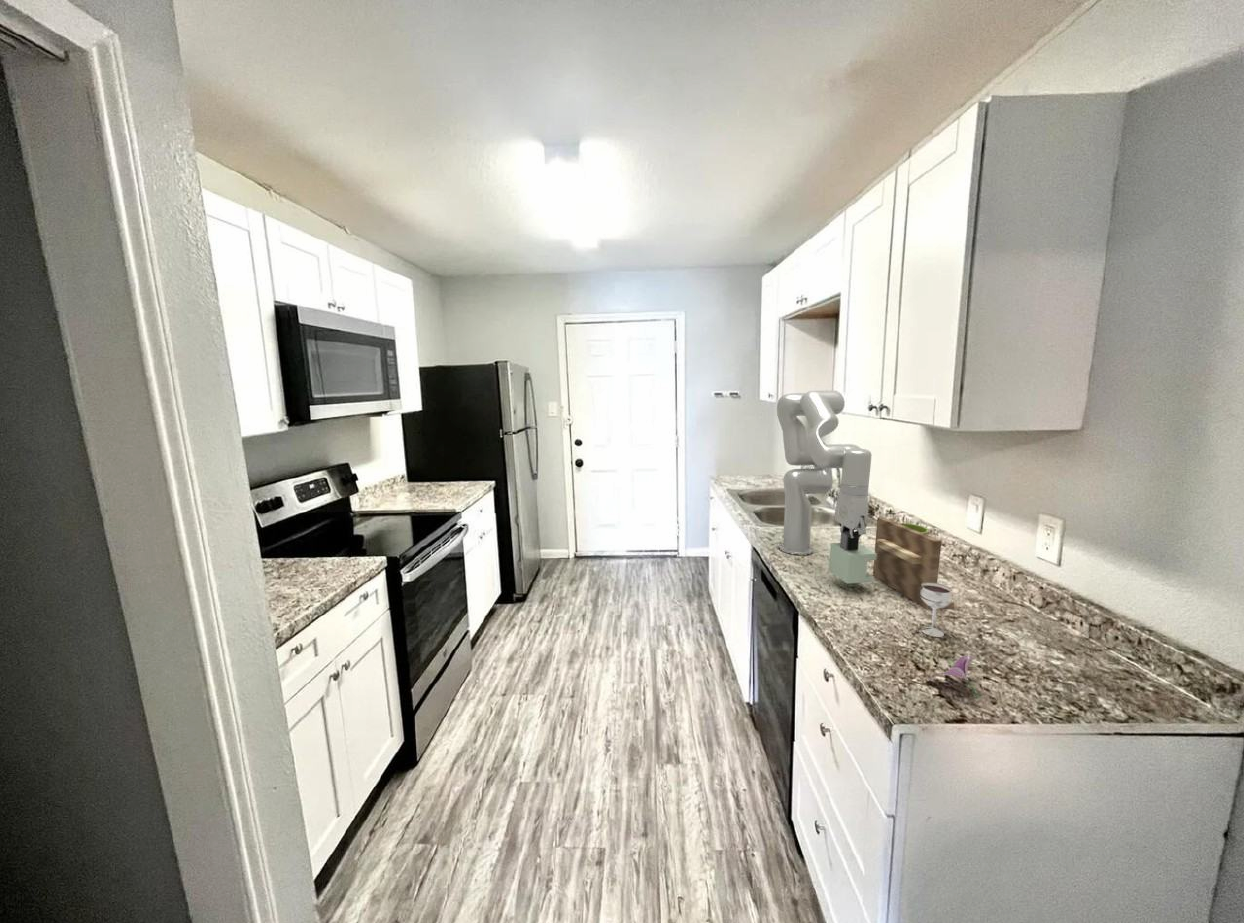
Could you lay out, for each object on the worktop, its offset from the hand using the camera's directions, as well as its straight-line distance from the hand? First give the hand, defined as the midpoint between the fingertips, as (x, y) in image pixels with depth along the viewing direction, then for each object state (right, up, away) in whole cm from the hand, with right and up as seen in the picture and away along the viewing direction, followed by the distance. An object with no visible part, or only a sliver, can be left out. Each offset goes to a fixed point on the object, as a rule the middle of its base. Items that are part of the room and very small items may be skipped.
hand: (848, 546), depth 144 cm
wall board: (+17, -13, -1) cm, 22 cm away
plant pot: (+34, -9, +27) cm, 45 cm away
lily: (0, -21, -46) cm, 51 cm away
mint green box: (+1, -9, +2) cm, 10 cm away
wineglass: (+9, -17, -24) cm, 32 cm away
